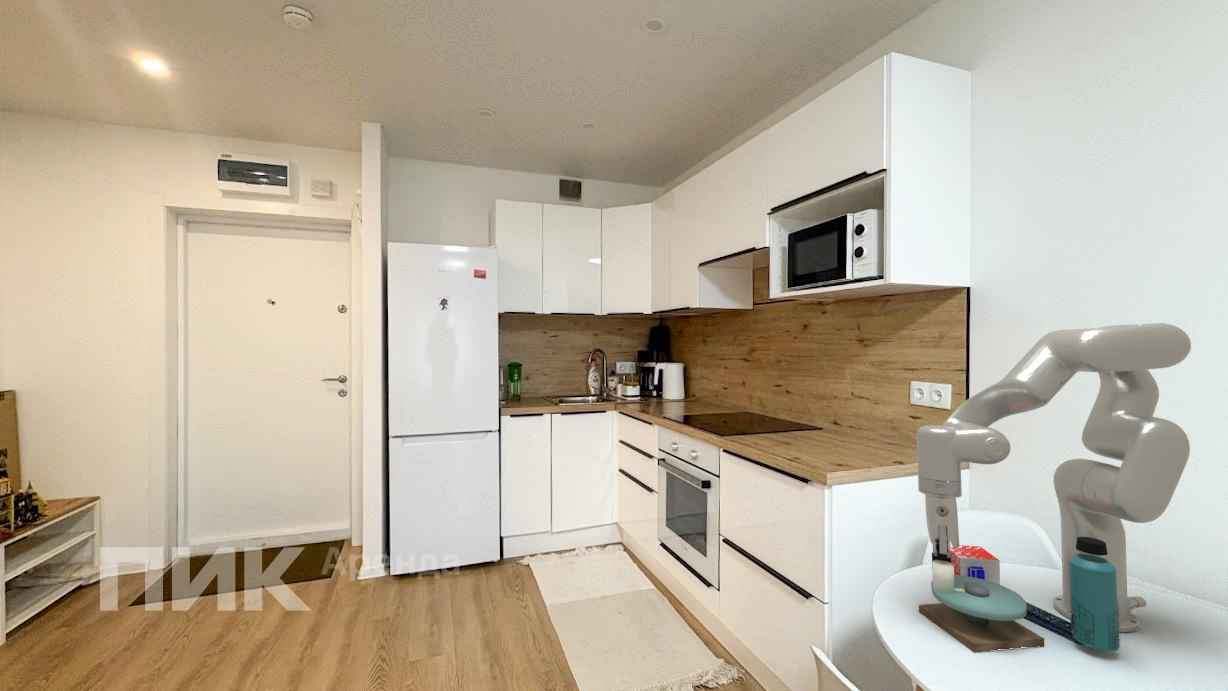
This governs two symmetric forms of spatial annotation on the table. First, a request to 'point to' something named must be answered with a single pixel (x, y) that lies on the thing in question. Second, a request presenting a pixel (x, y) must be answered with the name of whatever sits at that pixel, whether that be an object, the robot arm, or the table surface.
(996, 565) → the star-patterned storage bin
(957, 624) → the stand
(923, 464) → the robot arm
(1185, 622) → the table surface
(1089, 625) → the beverage bottle
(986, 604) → the handwheel
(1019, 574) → the table surface
